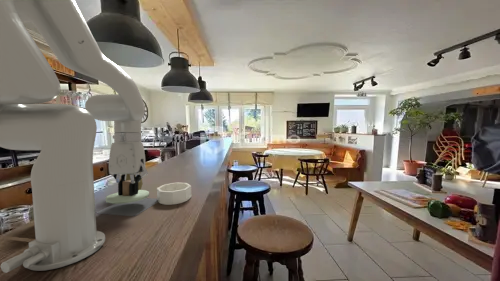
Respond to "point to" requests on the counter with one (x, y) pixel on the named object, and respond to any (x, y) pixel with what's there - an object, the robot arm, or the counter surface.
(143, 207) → the mat
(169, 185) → the bowl
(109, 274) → the counter surface
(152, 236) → the counter surface
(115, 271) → the counter surface
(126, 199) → the lid
